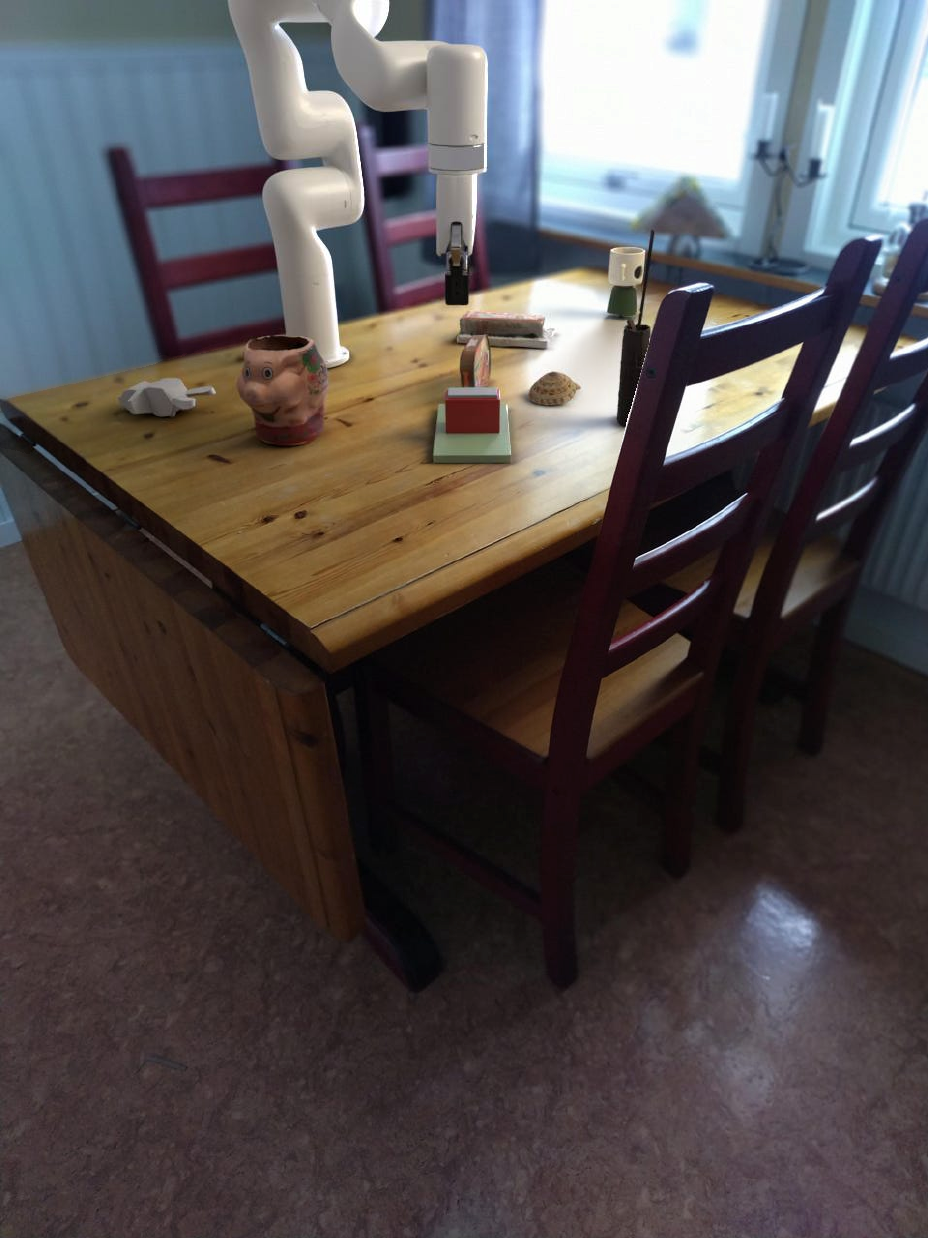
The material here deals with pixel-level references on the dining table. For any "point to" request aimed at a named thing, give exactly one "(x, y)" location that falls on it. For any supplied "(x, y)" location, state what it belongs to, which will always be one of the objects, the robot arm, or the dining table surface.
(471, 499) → the dining table surface
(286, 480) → the dining table surface
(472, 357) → the tin
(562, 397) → the seashell
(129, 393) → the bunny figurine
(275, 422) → the decorative planter
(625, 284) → the character mug
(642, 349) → the butter churn
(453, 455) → the board
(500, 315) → the packaged product
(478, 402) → the red rectangular block
